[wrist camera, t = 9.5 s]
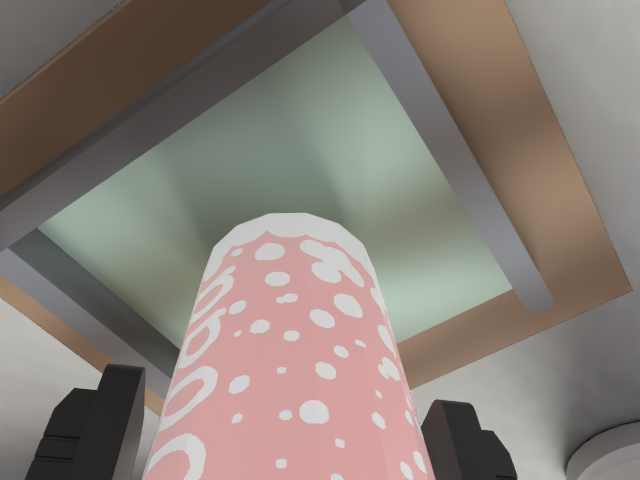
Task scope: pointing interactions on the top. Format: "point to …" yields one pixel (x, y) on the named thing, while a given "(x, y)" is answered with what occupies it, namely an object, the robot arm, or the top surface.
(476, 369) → the top surface
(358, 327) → the beverage cup
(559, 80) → the top surface
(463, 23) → the dock
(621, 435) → the travel mug
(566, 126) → the top surface
